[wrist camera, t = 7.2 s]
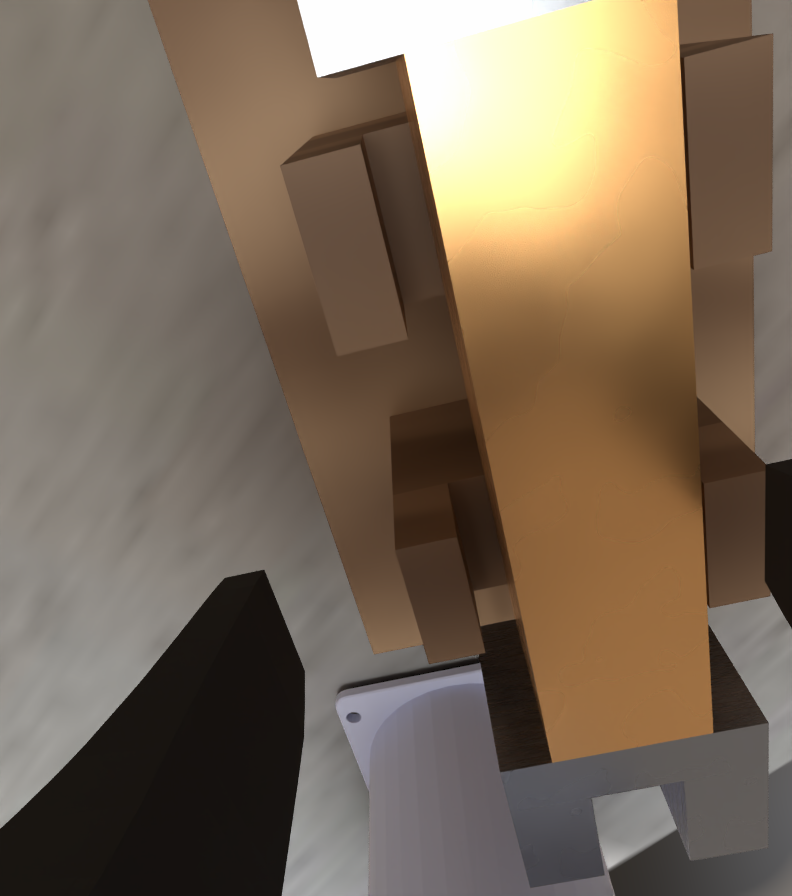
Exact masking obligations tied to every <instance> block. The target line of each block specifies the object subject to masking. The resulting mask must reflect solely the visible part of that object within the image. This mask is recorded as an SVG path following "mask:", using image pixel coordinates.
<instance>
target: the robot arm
mask: <svg viewBox="0 0 792 896" xmlns="http://www.w3.org/2000/svg"><path fill="white" fill-rule="evenodd" d="M765 583H766V584H767V586H768V588H769V590H770V591H771V593H772V595H773V597H774V599H775V600H776V602H777V604H778V606H779V607H780V609H781V611H782V613H783V615H784V616H785V618H786V620H787V621H788V623H789V624H790V626H791V628H792V459H790V460H785V461H781V462H776V463H771V464H766V466H765ZM335 706H336V711H337V713H338V716H339V718H340V721H341V723H342V726H343V728H344V731H345V733H346V736H347V738H348V741H349V743H350V746H351V748H352V751H353V753H354V756H355V758H356V761H357V763H358V766H359V768H360V771H361V773H362V776H363V778H364V781H365V783H366V786H367V788H368V791H369V886H368V896H615V894H614V890H613V887H612V884H611V880H610V877H609V873H608V870H607V866H606V863H605V860H604V856H603V853H602V849H601V846H600V851H601V856H602V862H603V868H604V873H605V876H599V877H593V878H587V879H581V880H575V881H569V882H563V883H558V884H552V885H546V886H540V887H534V888H530V885H529V881H528V878H527V874H526V870H525V866H524V862H523V859H522V855H521V851H520V847H519V843H518V839H517V836H516V832H515V828H514V824H513V820H512V817H511V813H510V809H509V805H508V801H507V798H506V794H505V790H504V786H503V782H502V779H501V775H500V770H499V765H498V759H497V753H496V748H495V742H494V737H493V731H492V725H491V720H490V714H489V709H488V703H487V698H486V692H485V686H484V681H483V675H482V670H481V664H480V663H477V664H472V665H467V666H462V667H457V668H452V669H447V670H442V671H437V672H432V673H427V674H422V675H417V676H412V677H407V678H402V679H397V680H392V681H387V682H382V683H377V684H372V685H366V686H361V687H356V688H351V689H346V690H344V691H341V692H340V693H339V694H338V695H337V697H336V704H335ZM351 712H356V713H357V714H351ZM304 715H305V670H304V668H303V665H302V663H301V660H300V658H299V655H298V653H297V650H296V648H295V645H294V643H293V640H292V638H291V635H290V633H289V630H288V628H287V625H286V623H285V620H284V618H283V615H282V613H281V610H280V608H279V605H278V603H277V600H276V598H275V595H274V593H273V590H272V588H271V585H270V583H269V580H268V578H267V575H266V573H265V570H261V571H256V572H251V573H246V574H242V575H237V576H232V577H227V578H224V579H223V581H222V582H221V583H220V584H219V585H218V586H217V587H216V589H215V590H214V591H213V592H212V593H211V595H210V596H209V597H208V598H207V600H206V601H205V602H204V603H203V605H202V606H201V607H200V608H199V610H198V611H197V612H196V613H195V615H194V616H193V617H192V618H191V620H190V621H189V622H188V624H187V625H186V626H185V627H184V629H183V630H182V631H181V632H180V634H179V635H178V636H177V637H176V639H175V640H174V641H173V642H172V644H171V645H170V646H169V647H168V649H167V650H166V651H165V652H164V654H163V655H162V656H161V657H160V658H159V660H158V661H157V662H156V663H155V665H154V666H153V667H152V668H151V670H150V671H149V672H148V673H147V675H146V676H145V677H144V678H143V679H142V681H141V682H140V683H139V684H138V685H137V687H136V688H135V689H134V690H133V691H132V692H131V693H130V695H129V696H128V697H127V698H126V699H125V700H124V701H123V702H122V704H121V705H120V706H119V707H118V708H117V709H116V710H115V712H114V713H113V714H112V715H111V716H110V717H109V718H108V720H107V721H106V722H105V723H104V724H103V725H102V726H101V727H100V729H99V730H98V731H97V732H96V733H95V734H94V735H93V737H92V738H91V739H90V740H89V741H88V742H87V743H86V744H85V745H84V747H83V748H82V749H81V750H80V751H79V752H78V753H77V754H76V755H75V756H74V757H73V758H72V759H71V760H70V761H69V762H68V763H67V764H66V765H65V766H64V767H63V769H62V770H61V771H60V772H59V773H58V774H57V775H56V776H55V777H54V778H53V779H52V780H51V781H50V782H49V783H48V784H47V785H46V786H45V787H44V788H42V789H41V790H40V791H39V792H38V793H37V794H36V795H35V796H34V797H33V798H32V799H31V800H30V801H29V802H28V803H27V804H26V805H25V806H24V807H23V808H22V809H21V810H20V811H19V812H18V813H17V814H16V815H15V816H14V817H13V818H11V819H10V820H9V821H8V822H7V823H6V824H5V825H4V826H3V827H2V828H1V829H0V896H282V889H283V882H284V875H285V868H286V861H287V854H288V847H289V841H290V834H291V827H292V820H293V813H294V806H295V799H296V792H297V785H298V777H299V770H300V763H301V755H302V748H303V740H304ZM599 845H600V843H599Z"/></svg>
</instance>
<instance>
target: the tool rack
mask: <svg viewBox="0 0 792 896" xmlns="http://www.w3.org/2000/svg"><path fill="white" fill-rule="evenodd" d="M148 2H149V5H150V8H151V11H152V14H153V17H154V19H155V22H156V25H157V28H158V31H159V34H160V37H161V40H162V43H163V45H164V48H165V51H166V54H167V57H168V60H169V63H170V66H171V69H172V72H173V74H174V77H175V80H176V83H177V86H178V89H179V92H180V95H181V98H182V100H183V103H184V106H185V109H186V112H187V115H188V118H189V121H190V124H191V126H192V129H193V132H194V135H195V138H196V141H197V144H198V147H199V150H200V153H201V155H202V158H203V161H204V164H205V167H206V170H207V173H208V176H209V179H210V181H211V184H212V187H213V190H214V193H215V196H216V199H217V202H218V205H219V208H220V210H221V213H222V216H223V219H224V222H225V225H226V228H227V231H228V234H229V236H230V239H231V242H232V245H233V248H234V251H235V254H236V257H237V260H238V262H239V265H240V268H241V271H242V274H243V277H244V280H245V283H246V286H247V289H248V291H249V294H250V297H251V300H252V303H253V306H254V309H255V312H256V315H257V317H258V320H259V323H260V326H261V329H262V332H263V335H264V338H265V341H266V343H267V346H268V349H269V352H270V355H271V358H272V361H273V364H274V367H275V370H276V372H277V375H278V378H279V381H280V384H281V387H282V390H283V393H284V396H285V398H286V401H287V404H288V407H289V410H290V413H291V416H292V419H293V422H294V424H295V427H296V430H297V433H298V436H299V439H300V442H301V445H302V448H303V451H304V453H305V456H306V459H307V462H308V465H309V468H310V471H311V474H312V477H313V479H314V482H315V485H316V488H317V491H318V494H319V497H320V500H321V503H322V505H323V508H324V511H325V514H326V517H327V520H328V523H329V526H330V529H331V532H332V534H333V537H334V540H335V543H336V546H337V549H338V552H339V555H340V558H341V560H342V563H343V566H344V569H345V572H346V575H347V578H348V581H349V584H350V586H351V589H352V592H353V595H354V598H355V601H356V604H357V607H358V610H359V613H360V615H361V618H362V621H363V624H364V627H365V630H366V633H367V636H368V639H369V641H370V644H371V647H372V650H373V653H374V654H378V653H383V652H388V651H393V650H398V649H403V648H408V647H413V646H418V645H424V649H425V652H426V655H427V659H428V662H429V664H432V663H437V662H442V661H447V660H452V659H457V658H462V657H467V656H472V655H477V654H483V653H486V652H485V647H484V642H483V637H482V632H481V626H484V625H488V624H493V623H498V622H503V621H508V620H513V619H515V616H514V612H513V607H512V602H511V598H510V593H509V588H508V584H507V579H506V574H505V570H504V565H503V561H502V556H501V551H500V547H499V542H498V537H497V533H496V528H495V523H494V519H493V514H492V509H491V505H490V500H489V495H488V491H487V486H486V481H485V477H484V472H483V467H482V463H481V458H480V453H479V449H478V444H477V440H476V435H475V430H474V426H473V421H472V416H471V412H470V407H469V402H468V398H467V393H466V388H465V384H464V379H463V374H462V370H461V365H460V360H459V356H458V351H457V346H456V342H455V337H454V332H453V328H452V323H451V319H450V314H449V309H448V305H447V300H446V295H445V291H444V286H443V281H442V277H441V272H440V267H439V263H438V258H437V253H436V249H435V244H434V239H433V235H432V230H431V225H430V221H429V216H428V211H427V207H426V202H425V197H424V193H423V188H422V184H421V179H420V174H419V170H418V165H417V160H416V156H415V151H414V146H413V142H412V137H411V132H410V128H409V123H408V118H407V114H406V109H405V104H404V100H403V95H402V90H401V86H400V81H399V76H398V72H397V67H396V63H395V62H393V63H389V64H385V65H382V66H378V67H375V68H371V69H367V70H364V71H360V72H357V73H353V74H349V75H346V76H342V77H339V78H318V77H317V74H316V70H315V66H314V62H313V58H312V55H311V51H310V47H309V43H308V39H307V35H306V32H305V28H304V24H303V20H302V16H301V13H300V9H299V5H298V1H297V0H148ZM677 8H678V29H679V49H680V69H681V89H682V109H683V130H684V150H685V170H686V190H687V210H688V231H689V251H690V271H691V291H692V311H693V332H694V352H695V372H696V392H697V412H698V433H699V453H700V473H701V493H702V513H703V534H704V554H705V574H706V594H707V605H708V606H709V608H713V607H718V606H723V605H728V604H733V603H738V602H743V601H748V600H753V599H758V598H763V597H768V596H770V590H769V588H768V586H767V584H766V583H765V466H766V464H765V463H764V462H763V461H762V460H761V459H760V458H759V457H758V456H757V455H756V454H755V415H754V278H753V256H755V255H759V254H763V253H767V252H771V251H772V158H773V34H765V35H757V36H752V4H751V0H677Z"/></svg>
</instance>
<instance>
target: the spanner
mask: <svg viewBox="0 0 792 896" xmlns="http://www.w3.org/2000/svg"><path fill="white" fill-rule="evenodd" d="M297 1H298V5H299V9H300V13H301V16H302V20H303V24H304V28H305V32H306V35H307V39H308V43H309V47H310V51H311V55H312V58H313V62H314V66H315V70H316V74H317V77H318V78H339V77H342V76H346V75H349V74H353V73H357V72H360V71H364V70H367V69H371V68H375V67H378V66H382V65H385V64H389V63H393V62H395V63H396V67H397V72H398V76H399V81H400V86H401V90H402V95H403V100H404V104H405V109H406V114H407V118H408V123H409V128H410V132H411V137H412V142H413V146H414V151H415V156H416V160H417V165H418V170H419V174H420V179H421V184H422V188H423V193H424V197H425V202H426V207H427V211H428V216H429V221H430V225H431V230H432V235H433V239H434V244H435V249H436V253H437V258H438V263H439V267H440V272H441V277H442V281H443V286H444V291H445V295H446V300H447V305H448V309H449V314H450V319H451V323H452V328H453V332H454V337H455V342H456V346H457V351H458V356H459V360H460V365H461V370H462V374H463V379H464V384H465V388H466V393H467V398H468V402H469V407H470V412H471V416H472V421H473V426H474V430H475V435H476V440H477V444H478V449H479V453H480V458H481V463H482V467H483V472H484V477H485V481H486V486H487V491H488V495H489V500H490V505H491V509H492V514H493V519H494V523H495V528H496V533H497V537H498V542H499V547H500V551H501V556H502V561H503V565H504V570H505V574H506V579H507V584H508V588H509V593H510V598H511V602H512V607H513V612H514V616H515V619H513V620H508V621H503V622H498V623H493V624H488V625H484V626H481V632H482V637H483V642H484V647H485V652H486V653H483V654H479V658H480V664H481V670H482V675H483V681H484V686H485V692H486V698H487V703H488V709H489V714H490V720H491V725H492V731H493V737H494V742H495V748H496V753H497V759H498V765H499V770H500V775H501V779H502V782H503V786H504V790H505V794H506V798H507V801H508V805H509V809H510V813H511V817H512V820H513V824H514V828H515V832H516V836H517V839H518V843H519V847H520V851H521V855H522V859H523V862H524V866H525V870H526V874H527V878H528V881H529V885H530V888H534V887H540V886H546V885H552V884H558V883H563V882H569V881H575V880H581V879H587V878H593V877H599V876H605V873H604V868H603V862H602V856H601V851H600V845H599V839H598V834H597V828H596V822H595V817H594V811H593V805H592V800H591V798H592V797H598V796H603V795H609V794H614V793H620V792H625V791H631V790H637V789H642V788H648V787H653V786H659V785H660V787H661V789H662V791H663V794H664V796H665V799H666V801H667V804H668V806H669V809H670V811H671V814H672V816H673V819H674V821H675V824H676V826H677V829H678V831H679V834H680V836H681V839H682V841H683V844H684V846H685V848H686V851H687V853H688V856H689V858H690V861H693V860H699V859H705V858H711V857H717V856H722V855H729V854H734V853H741V852H747V851H753V850H758V849H764V848H768V742H769V723H768V721H767V720H766V718H765V716H764V715H763V713H762V711H761V710H760V708H759V707H758V705H757V703H756V702H755V700H754V698H753V697H752V695H751V693H750V692H749V690H748V689H747V687H746V685H745V684H744V682H743V680H742V679H741V677H740V675H739V674H738V672H737V671H736V669H735V667H734V666H733V664H732V662H731V661H730V659H729V657H728V656H727V654H726V653H725V651H724V649H723V648H722V646H721V644H720V643H719V641H718V639H717V638H716V636H715V635H714V633H713V631H712V630H711V628H710V626H709V625H708V614H707V594H706V574H705V554H704V534H703V513H702V493H701V473H700V453H699V433H698V412H697V392H696V372H695V352H694V332H693V311H692V291H691V271H690V251H689V231H688V210H687V190H686V170H685V150H684V130H683V109H682V89H681V69H680V49H679V29H678V8H677V0H297Z"/></svg>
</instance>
